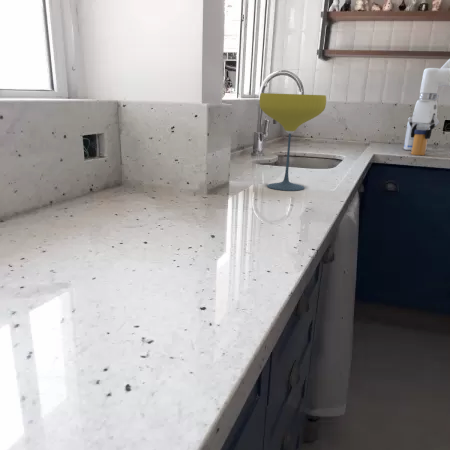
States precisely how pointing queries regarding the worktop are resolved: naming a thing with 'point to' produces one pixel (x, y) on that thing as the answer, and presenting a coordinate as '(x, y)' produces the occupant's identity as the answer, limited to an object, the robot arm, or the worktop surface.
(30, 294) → the worktop surface
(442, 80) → the robot arm
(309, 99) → the cocktail glass
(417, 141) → the honey jar
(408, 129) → the supplement tub
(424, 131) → the jar lid
